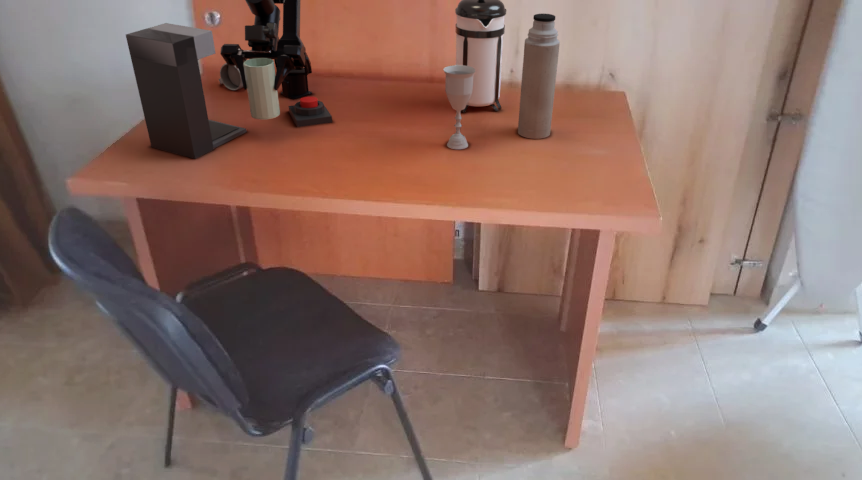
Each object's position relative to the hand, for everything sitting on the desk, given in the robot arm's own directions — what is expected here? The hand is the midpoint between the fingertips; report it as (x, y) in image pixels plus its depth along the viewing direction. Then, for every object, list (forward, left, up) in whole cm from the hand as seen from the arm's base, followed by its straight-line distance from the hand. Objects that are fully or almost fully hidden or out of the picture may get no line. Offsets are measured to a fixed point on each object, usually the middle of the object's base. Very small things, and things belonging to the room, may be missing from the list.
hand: (260, 89), depth 161 cm
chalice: (-30, +35, -13) cm, 48 cm away
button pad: (-16, -4, -12) cm, 21 cm away
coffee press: (-54, +19, -13) cm, 59 cm away
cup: (-1, -1, -7) cm, 7 cm away
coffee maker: (+11, -11, -12) cm, 20 cm away
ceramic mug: (-16, -39, -13) cm, 44 cm away
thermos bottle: (-49, +43, -13) cm, 66 cm away
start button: (-16, -4, -9) cm, 19 cm away
